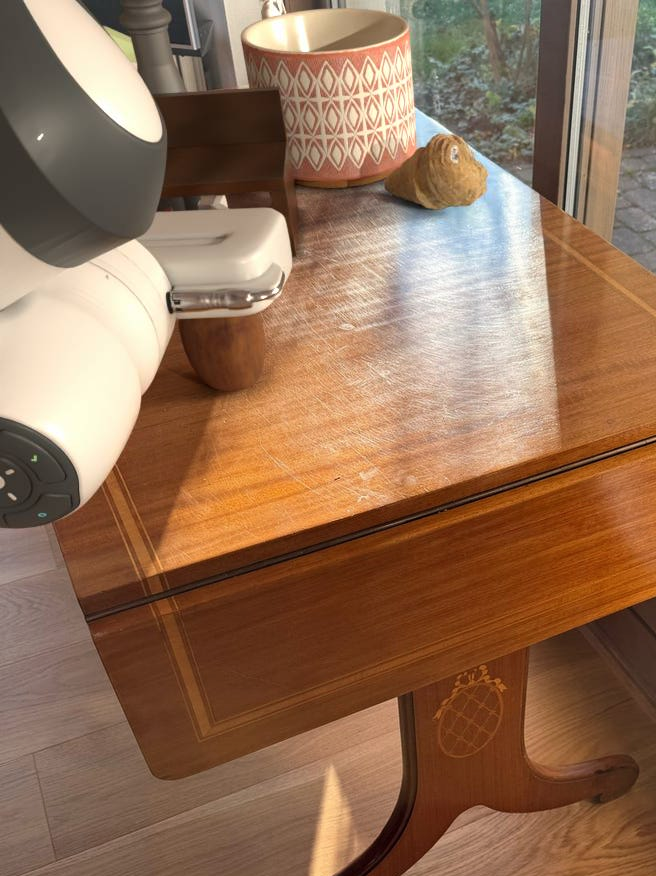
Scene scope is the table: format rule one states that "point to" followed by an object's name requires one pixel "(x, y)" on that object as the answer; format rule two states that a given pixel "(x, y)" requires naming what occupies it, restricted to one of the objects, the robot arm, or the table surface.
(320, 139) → the planter
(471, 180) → the seashell
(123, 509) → the table surface
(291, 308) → the table surface
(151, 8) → the candle holder
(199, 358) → the wooden figurine
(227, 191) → the miniature wooden bench
